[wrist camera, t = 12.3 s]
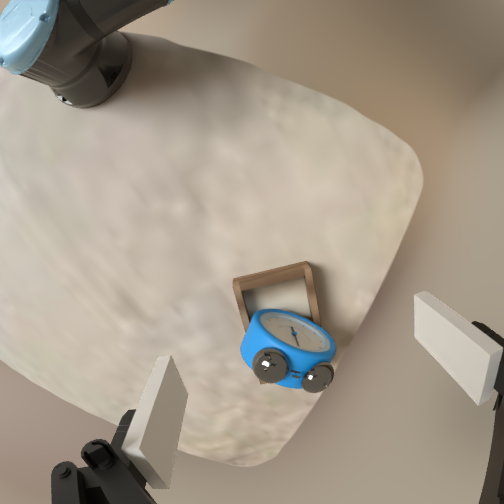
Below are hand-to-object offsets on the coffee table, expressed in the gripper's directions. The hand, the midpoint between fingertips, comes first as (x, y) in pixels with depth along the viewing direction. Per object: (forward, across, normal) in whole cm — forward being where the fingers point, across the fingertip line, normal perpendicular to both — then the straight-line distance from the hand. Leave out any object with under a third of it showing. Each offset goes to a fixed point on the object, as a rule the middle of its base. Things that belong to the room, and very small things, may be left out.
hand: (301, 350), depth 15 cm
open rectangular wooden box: (+35, 0, -16) cm, 38 cm away
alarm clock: (+33, 0, -16) cm, 37 cm away
